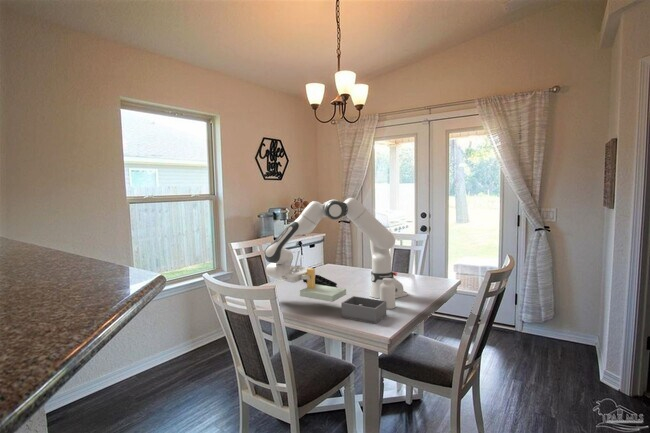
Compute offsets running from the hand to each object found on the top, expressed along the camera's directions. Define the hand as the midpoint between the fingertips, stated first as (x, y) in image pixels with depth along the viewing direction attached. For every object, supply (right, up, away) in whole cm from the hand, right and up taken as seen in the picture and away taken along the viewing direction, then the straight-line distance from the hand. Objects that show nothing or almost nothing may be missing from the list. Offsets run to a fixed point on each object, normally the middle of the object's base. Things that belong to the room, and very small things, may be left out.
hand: (312, 276), depth 188 cm
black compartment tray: (+3, -13, +45) cm, 47 cm away
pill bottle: (+40, -16, -1) cm, 43 cm away
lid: (+6, -9, -3) cm, 11 cm away
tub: (+26, -17, -14) cm, 34 cm away
